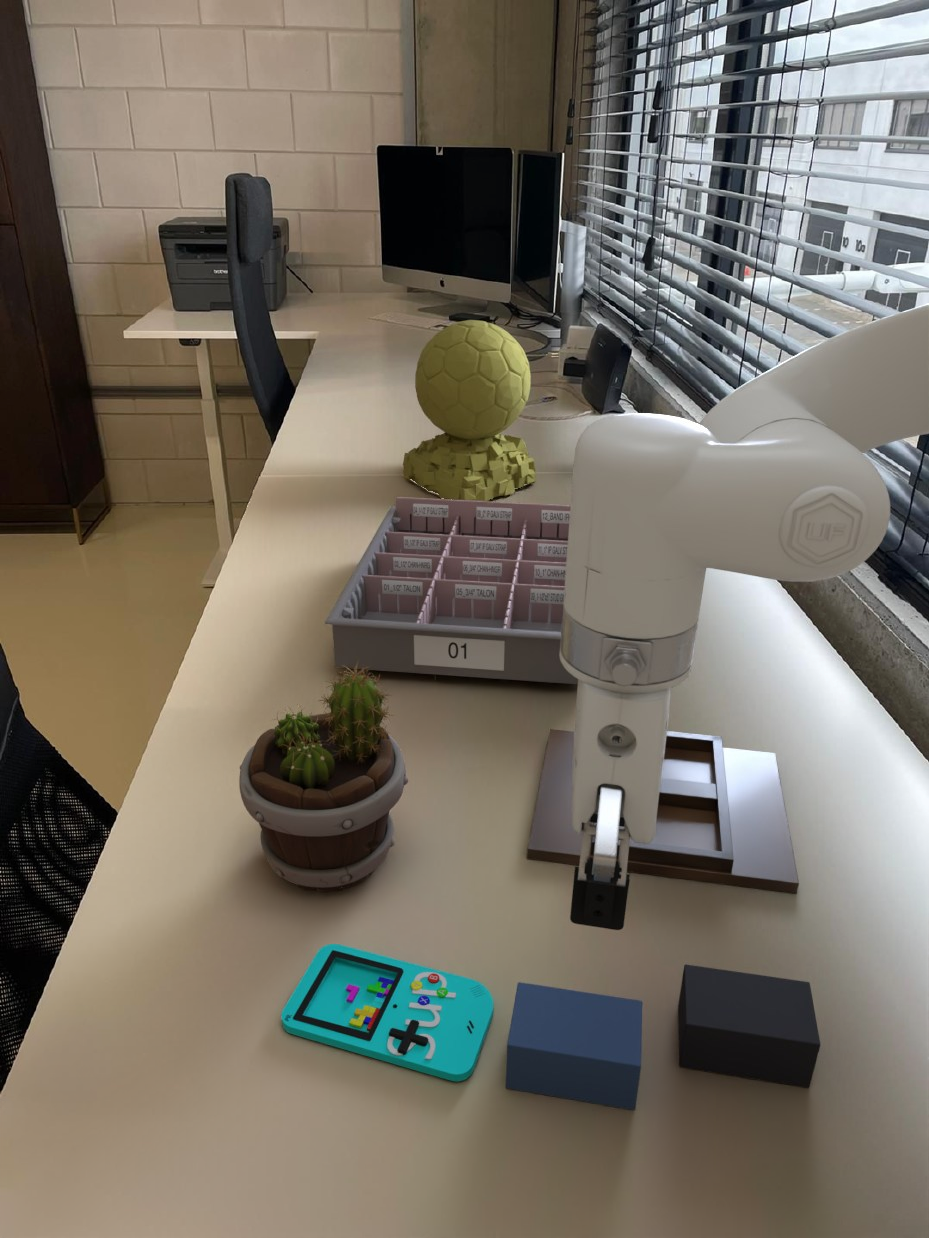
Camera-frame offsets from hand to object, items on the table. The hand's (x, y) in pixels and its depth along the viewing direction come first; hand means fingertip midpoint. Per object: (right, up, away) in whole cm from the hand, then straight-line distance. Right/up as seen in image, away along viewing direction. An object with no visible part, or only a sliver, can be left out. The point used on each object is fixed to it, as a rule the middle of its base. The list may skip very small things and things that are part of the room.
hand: (601, 868), depth 61 cm
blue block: (-1, -16, +7) cm, 17 cm away
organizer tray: (-7, +17, +70) cm, 72 cm away
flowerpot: (-21, -6, +26) cm, 34 cm away
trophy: (-8, +42, +120) cm, 127 cm away
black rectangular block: (+11, -15, +8) cm, 21 cm away
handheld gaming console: (-14, -14, +11) cm, 23 cm away
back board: (+11, -2, +33) cm, 34 cm away
